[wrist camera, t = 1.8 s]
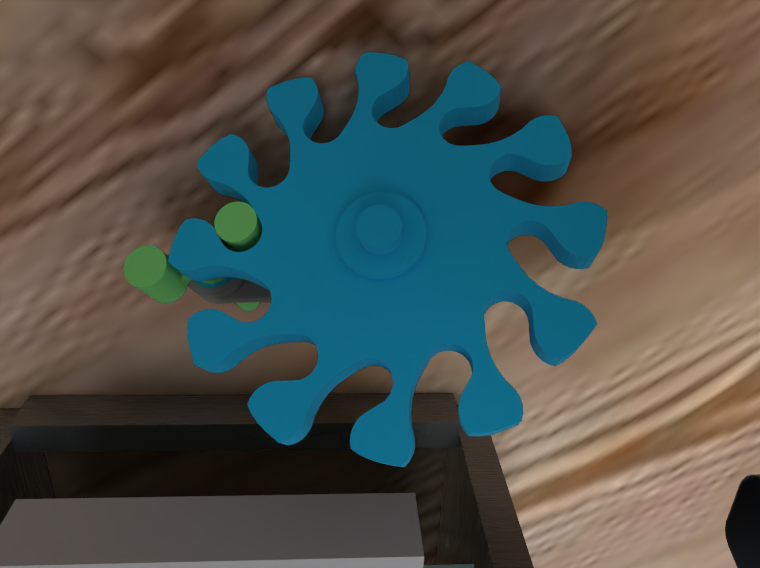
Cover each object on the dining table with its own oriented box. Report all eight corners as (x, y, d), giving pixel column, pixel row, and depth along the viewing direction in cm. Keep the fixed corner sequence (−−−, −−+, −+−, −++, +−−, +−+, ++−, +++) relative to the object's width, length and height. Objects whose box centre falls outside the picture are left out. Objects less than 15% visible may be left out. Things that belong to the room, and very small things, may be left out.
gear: (592, 19, 15) (645, 464, 12) (554, 148, 21) (583, 474, 18) (139, 51, 16) (80, 464, 13) (220, 165, 22) (192, 473, 19)
